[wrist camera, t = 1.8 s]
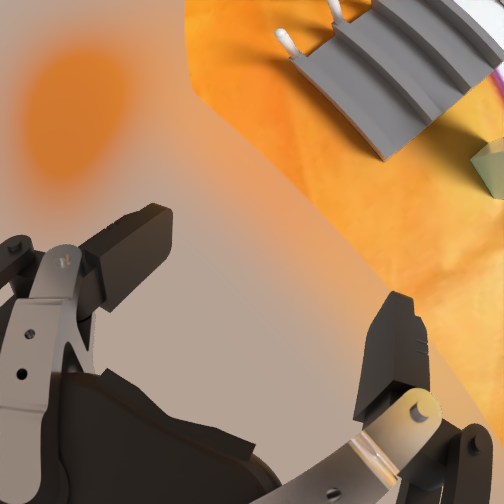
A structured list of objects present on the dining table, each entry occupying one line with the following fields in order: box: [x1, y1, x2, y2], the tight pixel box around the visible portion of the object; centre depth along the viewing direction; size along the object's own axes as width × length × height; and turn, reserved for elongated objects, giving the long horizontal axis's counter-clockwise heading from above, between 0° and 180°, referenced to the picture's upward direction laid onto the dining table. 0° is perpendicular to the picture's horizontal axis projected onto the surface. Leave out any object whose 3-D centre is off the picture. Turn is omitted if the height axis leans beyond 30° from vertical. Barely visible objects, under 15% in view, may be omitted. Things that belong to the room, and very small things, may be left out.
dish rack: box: [275, 0, 504, 163], centre depth 20 cm, size 20×14×10 cm
